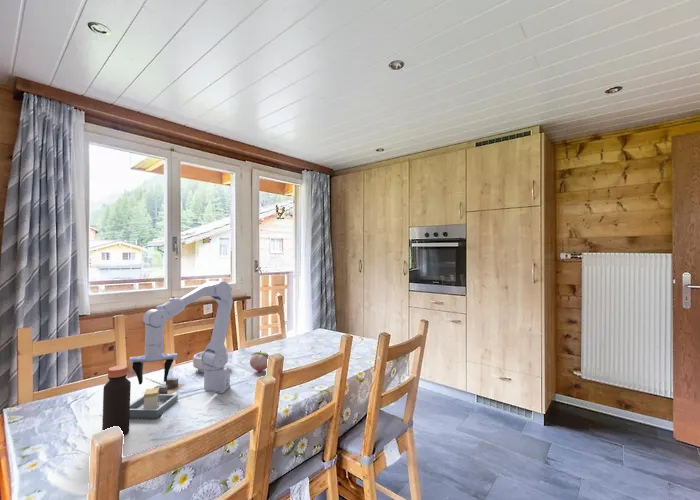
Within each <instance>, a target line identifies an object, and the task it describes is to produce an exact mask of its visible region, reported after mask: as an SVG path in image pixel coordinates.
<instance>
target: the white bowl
mask: <svg viewBox="0 0 700 500" xmlns="http://www.w3.org/2000/svg"><path fill="white" fill-rule="evenodd" d="M204 351H205V350H204ZM204 351H200V352H198V353H195V354H194V355H193V357H192V366H193V367H194V368H195V369H197V371H198V372H199V373H201V374H204V363H203V362H202V359H201V358H202V354H203V353H204ZM226 356H227V362H226V364H228V361H229V359H228V358H229V357H228V356H229V354H228V352H226Z"/></svg>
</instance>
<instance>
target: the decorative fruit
mask: <svg viewBox="0 0 700 500" xmlns="http://www.w3.org/2000/svg"><path fill="white" fill-rule="evenodd" d="M268 356H269V357H270V355H269V354H268V353H267V352H262V351H261V350H260V351H259V352H257V351H255V352H253V353H252V354H251V358H250V360H249V364H250V367H251V368H252V369H253V370H255V371H256V372H258V373H261V372H263V371H265V370H266V369H267V368H268V367H267V359H268Z"/></svg>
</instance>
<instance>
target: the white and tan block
mask: <svg viewBox="0 0 700 500" xmlns="http://www.w3.org/2000/svg"><path fill="white" fill-rule="evenodd" d="M143 396H144V403H143V409H157V408H159V404H160V401H159V388H154V387H152V388H146V389H145V392H144V394H143Z"/></svg>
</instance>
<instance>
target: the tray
mask: <svg viewBox="0 0 700 500" xmlns="http://www.w3.org/2000/svg"><path fill="white" fill-rule="evenodd" d="M178 397H179V396H178V394H175V393H173V394H159V402H164V403H163V404H161V405H160V406H158V408H157V409H144V408H138V407H140V406H141V405H143V404H144V395H142V396H141V397H139V398H138V399H136V400H134V401H133V402H131V403H130V420H158V419H160V418H161V417H162V416H163V412H165V411H166V410H167V409H169V407H171V406H172V405H174V404H175V403H176V402H177V401H178V399H179V398H178Z"/></svg>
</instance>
